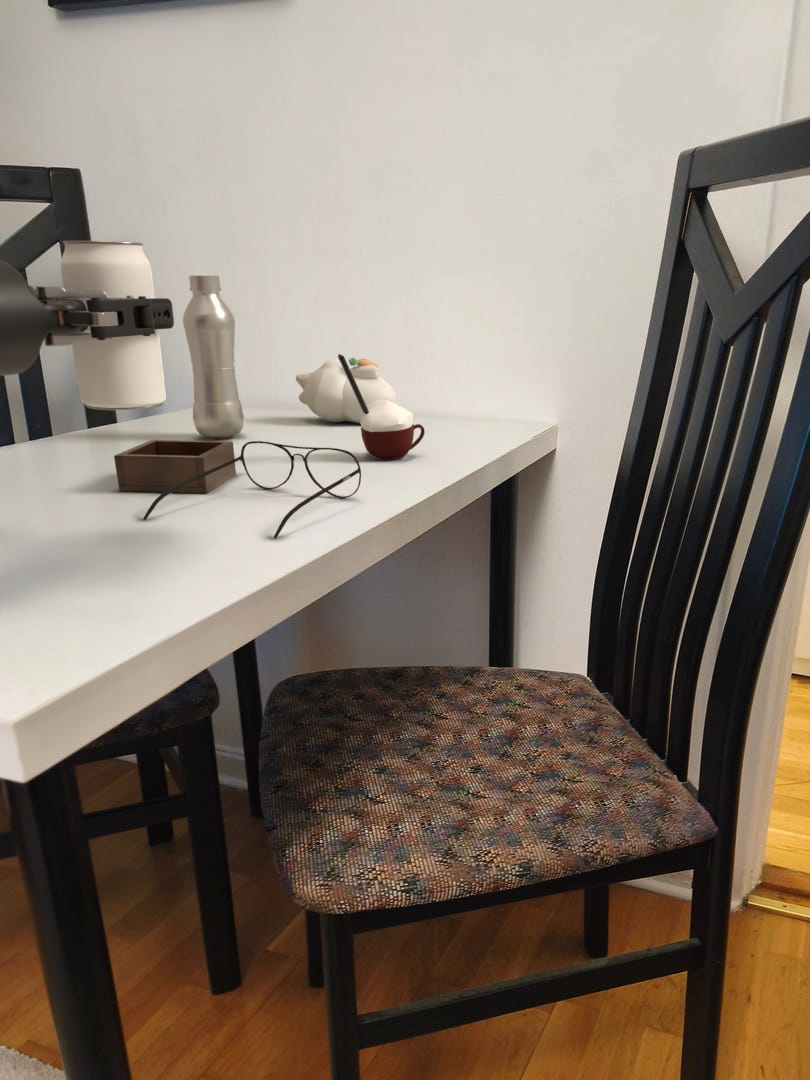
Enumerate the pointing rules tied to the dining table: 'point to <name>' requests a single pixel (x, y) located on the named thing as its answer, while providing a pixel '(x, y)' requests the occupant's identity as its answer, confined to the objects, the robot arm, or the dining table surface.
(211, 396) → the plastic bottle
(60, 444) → the dining table surface
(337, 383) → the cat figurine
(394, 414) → the cocoa
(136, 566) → the dining table surface
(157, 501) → the glasses
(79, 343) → the can
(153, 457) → the tray
